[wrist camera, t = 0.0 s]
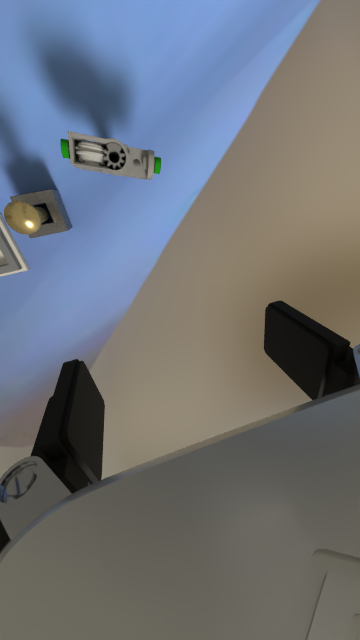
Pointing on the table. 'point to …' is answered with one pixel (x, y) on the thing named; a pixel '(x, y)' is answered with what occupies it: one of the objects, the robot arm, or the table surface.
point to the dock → (10, 252)
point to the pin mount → (55, 209)
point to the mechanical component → (109, 156)
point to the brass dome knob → (24, 217)
